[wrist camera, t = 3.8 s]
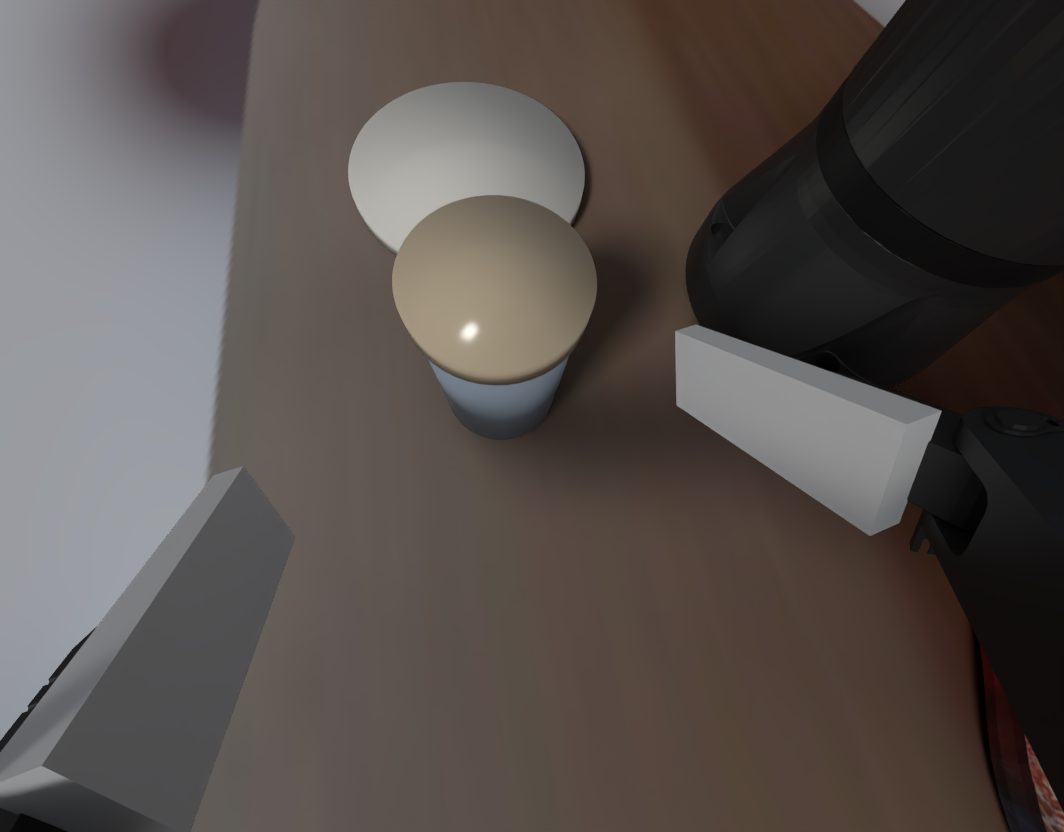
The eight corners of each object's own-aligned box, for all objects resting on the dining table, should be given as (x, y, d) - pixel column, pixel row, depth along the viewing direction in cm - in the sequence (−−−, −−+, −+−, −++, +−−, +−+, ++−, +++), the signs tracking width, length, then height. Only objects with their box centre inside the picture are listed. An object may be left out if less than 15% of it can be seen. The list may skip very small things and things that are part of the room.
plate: (516, 74, 29) (516, 58, 28) (623, 223, 25) (628, 211, 24) (319, 137, 26) (312, 122, 25) (412, 313, 23) (407, 304, 22)
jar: (524, 319, 23) (535, 170, 13) (578, 410, 22) (635, 316, 12) (424, 365, 22) (359, 237, 12) (475, 464, 20) (447, 407, 11)
